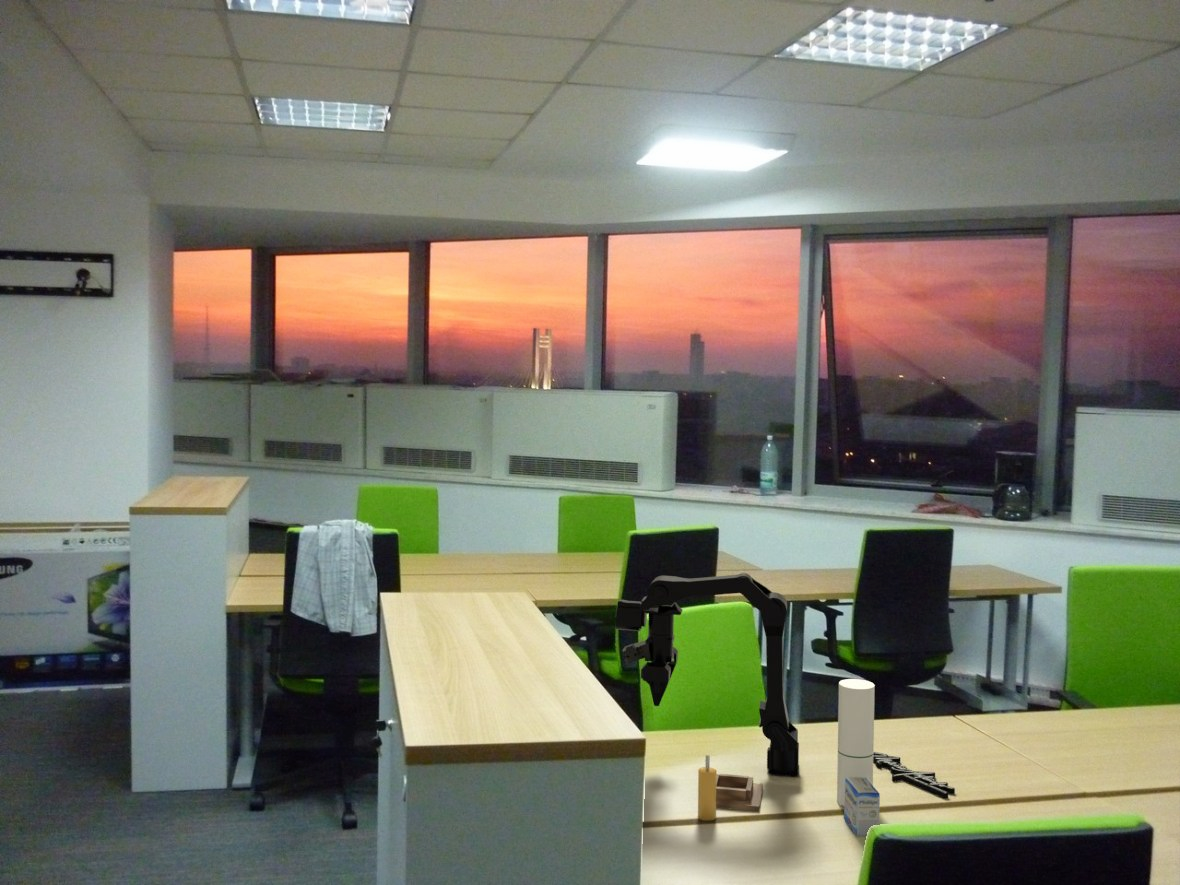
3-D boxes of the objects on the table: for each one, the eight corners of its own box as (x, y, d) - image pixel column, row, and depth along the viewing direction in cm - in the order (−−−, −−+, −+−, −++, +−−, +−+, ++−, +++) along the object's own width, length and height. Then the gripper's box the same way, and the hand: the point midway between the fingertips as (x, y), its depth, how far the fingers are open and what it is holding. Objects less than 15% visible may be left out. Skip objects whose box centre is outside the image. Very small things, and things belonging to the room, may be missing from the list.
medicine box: (843, 819, 207) (844, 777, 206) (865, 818, 207) (866, 776, 207) (856, 837, 199) (857, 792, 199) (879, 836, 200) (880, 792, 199)
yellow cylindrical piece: (716, 814, 209) (717, 753, 209) (715, 821, 206) (715, 759, 205) (699, 812, 210) (699, 751, 209) (696, 819, 207) (697, 758, 206)
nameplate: (842, 754, 239) (874, 746, 244) (842, 761, 239) (874, 753, 245) (937, 796, 216) (970, 786, 221) (937, 803, 216) (970, 793, 221)
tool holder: (762, 788, 222) (763, 773, 222) (759, 811, 211) (759, 795, 210) (706, 783, 225) (707, 769, 225) (700, 805, 213) (700, 790, 213)
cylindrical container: (873, 798, 217) (875, 680, 216) (871, 811, 211) (873, 690, 209) (838, 793, 220) (840, 677, 218) (835, 806, 213) (837, 687, 211)
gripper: (632, 620, 246) (630, 685, 247) (618, 640, 228) (617, 709, 229) (679, 623, 244) (677, 688, 245) (669, 643, 226) (667, 713, 227)
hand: (659, 699), depth 237 cm, fingers open, 9 cm apart
